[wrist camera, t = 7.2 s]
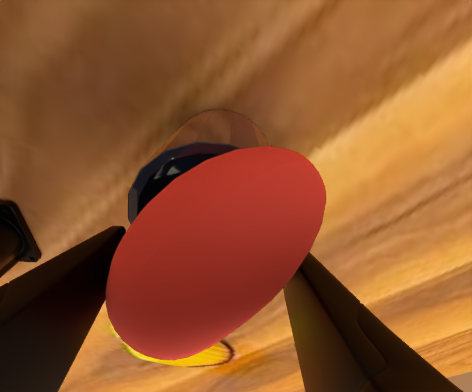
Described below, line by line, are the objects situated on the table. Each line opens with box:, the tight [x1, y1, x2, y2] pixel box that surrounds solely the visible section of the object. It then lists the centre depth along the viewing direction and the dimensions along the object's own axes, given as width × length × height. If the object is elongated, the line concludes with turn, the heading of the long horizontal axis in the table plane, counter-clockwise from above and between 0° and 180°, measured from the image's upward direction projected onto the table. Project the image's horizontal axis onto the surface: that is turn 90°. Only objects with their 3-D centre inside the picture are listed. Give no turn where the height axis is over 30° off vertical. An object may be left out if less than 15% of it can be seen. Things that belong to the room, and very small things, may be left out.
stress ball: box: [106, 146, 326, 360], centre depth 8 cm, size 5×9×6 cm, turn 130°
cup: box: [128, 110, 269, 224], centre depth 13 cm, size 7×7×8 cm
